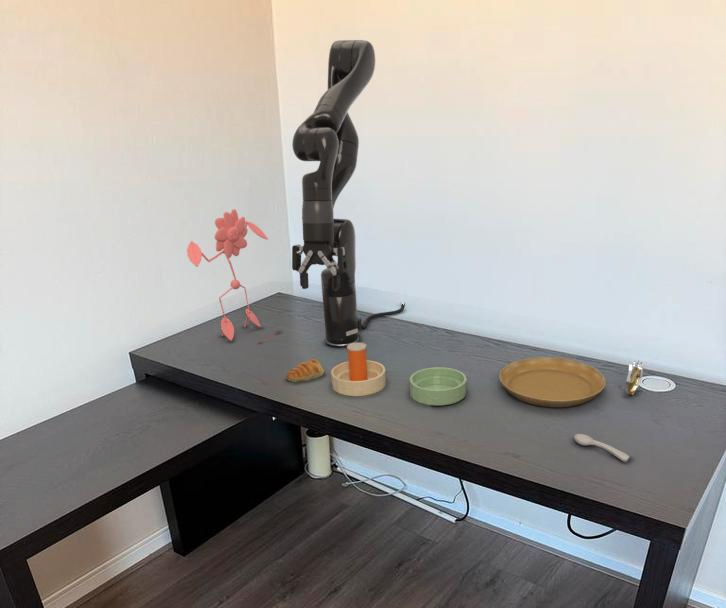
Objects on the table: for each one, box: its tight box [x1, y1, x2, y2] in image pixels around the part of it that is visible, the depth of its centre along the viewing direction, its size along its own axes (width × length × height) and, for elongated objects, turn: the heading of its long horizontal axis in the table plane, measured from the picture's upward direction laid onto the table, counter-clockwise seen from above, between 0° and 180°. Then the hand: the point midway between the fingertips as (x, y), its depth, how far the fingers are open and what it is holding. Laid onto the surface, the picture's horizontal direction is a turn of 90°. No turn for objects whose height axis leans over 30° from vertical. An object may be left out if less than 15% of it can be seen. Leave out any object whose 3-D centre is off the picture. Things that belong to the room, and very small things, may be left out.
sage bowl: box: [409, 366, 468, 406], centre depth 161 cm, size 13×13×4 cm
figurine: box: [186, 208, 280, 345], centre depth 192 cm, size 15×26×35 cm, turn 141°
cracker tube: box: [346, 342, 368, 381], centre depth 165 cm, size 5×5×10 cm
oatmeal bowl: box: [330, 359, 387, 397], centre depth 167 cm, size 13×13×4 cm
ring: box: [625, 360, 645, 396], centre depth 155 cm, size 7×3×8 cm, turn 137°
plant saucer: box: [498, 356, 607, 408], centre depth 160 cm, size 24×24×3 cm
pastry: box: [286, 358, 325, 383], centre depth 173 cm, size 9×7×4 cm
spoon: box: [573, 433, 630, 463], centre depth 137 cm, size 3×12×2 cm, turn 42°
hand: (320, 289), depth 171 cm, fingers open, 8 cm apart
